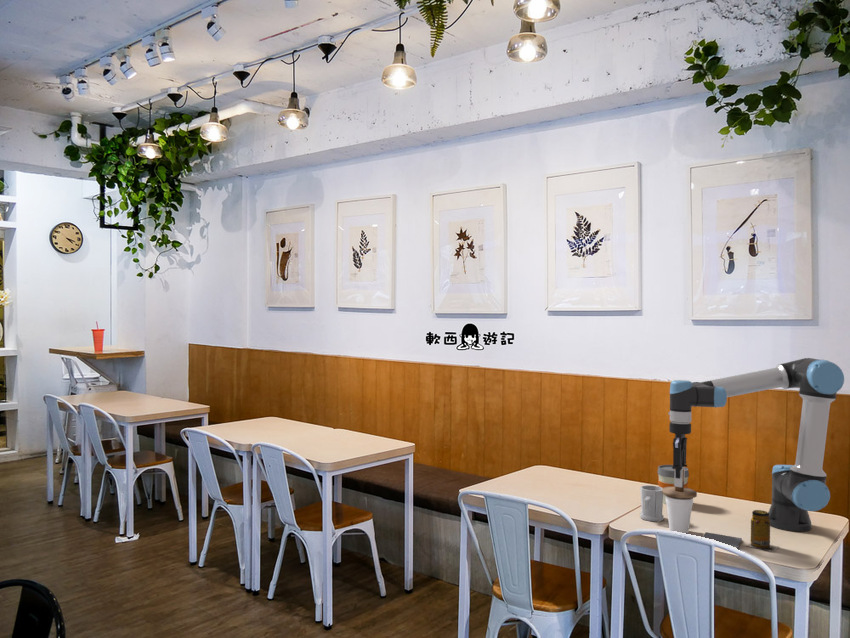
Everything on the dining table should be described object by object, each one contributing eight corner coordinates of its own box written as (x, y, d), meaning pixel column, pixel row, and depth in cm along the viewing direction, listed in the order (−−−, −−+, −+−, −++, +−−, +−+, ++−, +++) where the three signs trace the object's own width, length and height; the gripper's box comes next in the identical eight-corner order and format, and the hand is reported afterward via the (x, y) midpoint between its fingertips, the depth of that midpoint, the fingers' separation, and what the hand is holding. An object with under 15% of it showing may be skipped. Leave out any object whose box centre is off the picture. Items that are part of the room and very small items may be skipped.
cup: (668, 523, 259) (668, 492, 259) (644, 523, 259) (645, 492, 259) (658, 515, 269) (659, 485, 269) (636, 514, 269) (636, 485, 269)
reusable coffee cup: (682, 499, 293) (683, 464, 293) (692, 507, 280) (693, 471, 280) (653, 498, 293) (653, 464, 293) (662, 507, 281) (662, 471, 281)
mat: (741, 540, 240) (741, 538, 240) (737, 550, 230) (737, 548, 230) (705, 534, 246) (705, 532, 246) (699, 543, 236) (699, 541, 236)
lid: (699, 492, 251) (699, 468, 251) (693, 500, 241) (693, 475, 241) (665, 488, 257) (666, 464, 257) (658, 495, 247) (659, 470, 247)
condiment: (753, 541, 239) (753, 507, 239) (779, 547, 233) (779, 512, 233) (746, 546, 234) (746, 512, 234) (772, 552, 228) (773, 517, 228)
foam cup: (694, 536, 244) (695, 500, 244) (667, 534, 246) (668, 499, 245) (689, 528, 253) (690, 493, 253) (663, 526, 255) (664, 492, 255)
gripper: (674, 418, 258) (673, 479, 258) (664, 424, 244) (663, 488, 244) (695, 420, 254) (694, 482, 254) (686, 426, 240) (685, 492, 240)
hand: (679, 485), depth 249 cm, fingers open, 4 cm apart
